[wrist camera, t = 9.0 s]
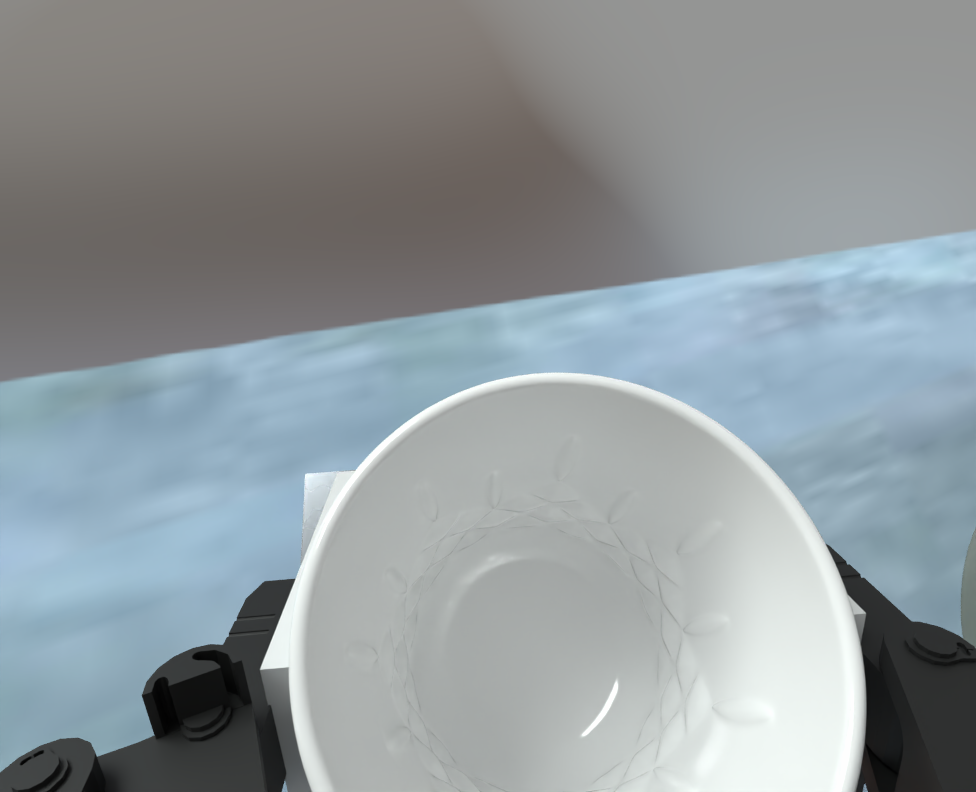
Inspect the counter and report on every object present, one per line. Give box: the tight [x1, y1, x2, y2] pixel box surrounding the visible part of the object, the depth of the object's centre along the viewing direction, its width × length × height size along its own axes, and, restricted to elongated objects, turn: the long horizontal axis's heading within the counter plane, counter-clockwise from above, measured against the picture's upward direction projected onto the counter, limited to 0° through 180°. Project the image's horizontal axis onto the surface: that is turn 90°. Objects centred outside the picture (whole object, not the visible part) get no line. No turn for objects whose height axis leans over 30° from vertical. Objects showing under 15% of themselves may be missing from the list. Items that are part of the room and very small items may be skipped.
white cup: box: [289, 373, 867, 792], centre depth 13 cm, size 8×8×10 cm
